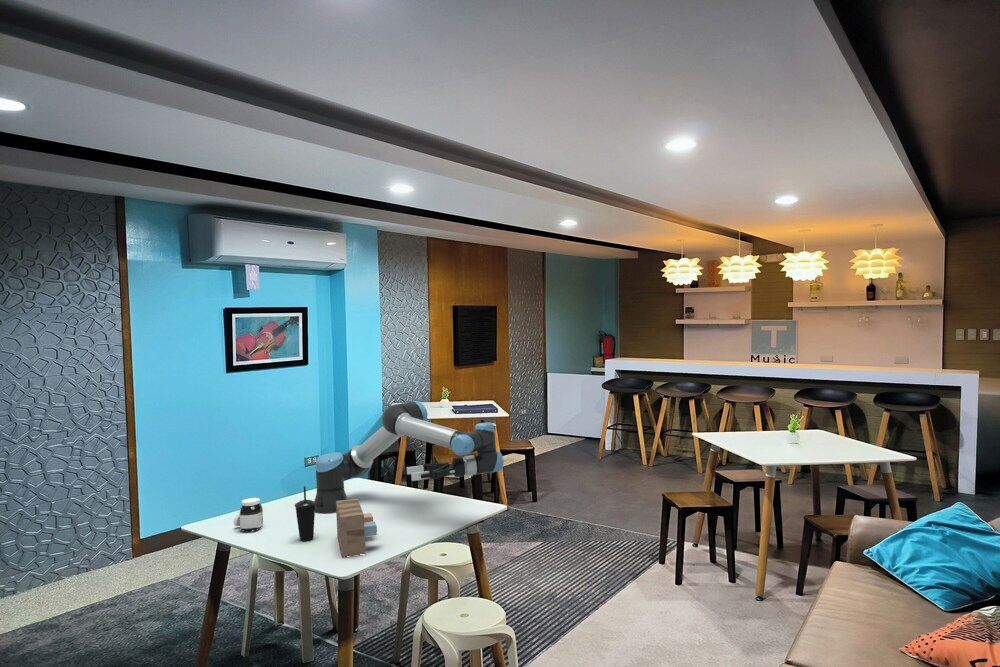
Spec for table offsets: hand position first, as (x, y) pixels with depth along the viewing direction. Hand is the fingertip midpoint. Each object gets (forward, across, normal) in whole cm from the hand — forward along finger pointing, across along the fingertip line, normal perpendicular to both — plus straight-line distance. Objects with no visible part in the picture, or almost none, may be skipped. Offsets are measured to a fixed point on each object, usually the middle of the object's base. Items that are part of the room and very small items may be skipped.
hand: (409, 474), depth 243 cm
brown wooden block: (+24, -6, -22) cm, 33 cm away
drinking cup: (+39, +8, -21) cm, 45 cm away
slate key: (+18, -11, -17) cm, 27 cm away
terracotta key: (+18, 0, -16) cm, 24 cm away
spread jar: (+62, +31, -19) cm, 72 cm away
